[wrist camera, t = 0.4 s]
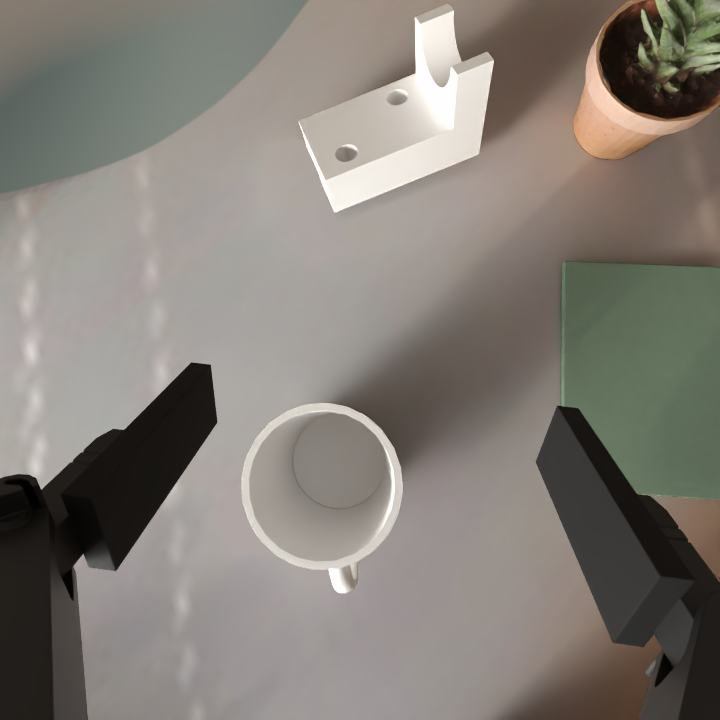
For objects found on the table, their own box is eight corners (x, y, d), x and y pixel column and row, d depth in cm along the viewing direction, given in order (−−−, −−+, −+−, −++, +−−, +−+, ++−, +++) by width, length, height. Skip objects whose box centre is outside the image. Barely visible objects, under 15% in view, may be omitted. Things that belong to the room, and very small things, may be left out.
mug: (276, 414, 33) (228, 420, 22) (382, 392, 32) (383, 387, 22) (301, 552, 31) (262, 625, 21) (412, 530, 31) (428, 593, 21)
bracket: (443, 102, 36) (448, 3, 29) (478, 154, 33) (494, 59, 26) (309, 156, 36) (282, 70, 29) (334, 212, 33) (311, 133, 26)
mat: (721, 498, 30) (728, 500, 30) (560, 487, 31) (563, 488, 30) (713, 269, 32) (720, 267, 31) (561, 263, 33) (565, 260, 32)
